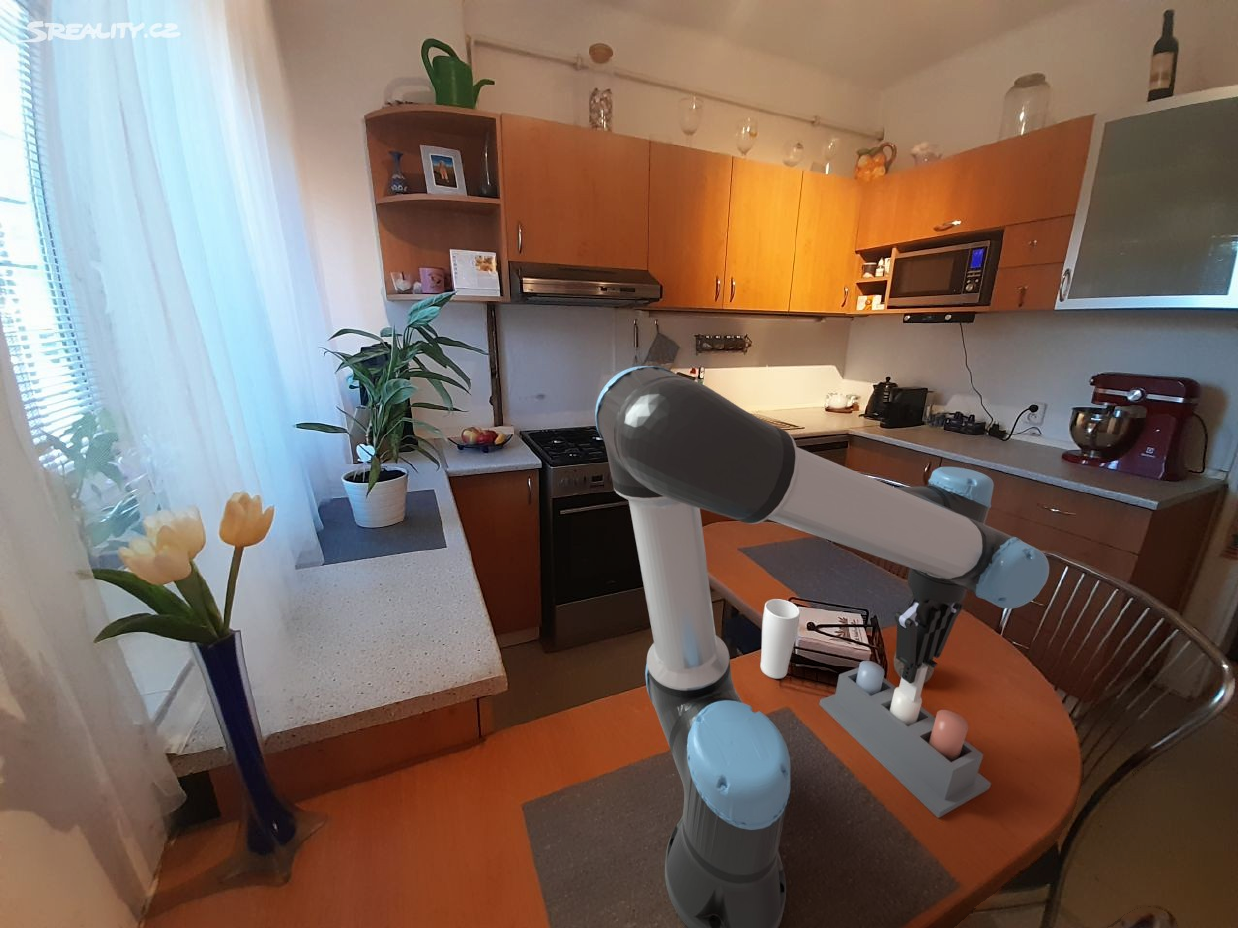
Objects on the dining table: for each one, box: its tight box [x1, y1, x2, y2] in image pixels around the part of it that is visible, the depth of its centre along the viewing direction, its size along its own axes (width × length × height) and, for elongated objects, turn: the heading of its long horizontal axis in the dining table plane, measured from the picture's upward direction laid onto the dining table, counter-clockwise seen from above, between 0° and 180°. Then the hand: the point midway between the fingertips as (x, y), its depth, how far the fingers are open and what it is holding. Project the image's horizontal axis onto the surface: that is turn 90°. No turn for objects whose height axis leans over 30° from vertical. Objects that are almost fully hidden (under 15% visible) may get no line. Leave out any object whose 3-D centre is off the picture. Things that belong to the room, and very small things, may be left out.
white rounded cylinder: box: [890, 686, 923, 726], centre depth 81 cm, size 4×4×7 cm
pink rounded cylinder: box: [929, 709, 969, 762], centre depth 74 cm, size 4×4×7 cm
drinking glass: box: [759, 598, 801, 680], centre depth 96 cm, size 7×7×15 cm
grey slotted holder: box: [819, 667, 992, 819], centre depth 82 cm, size 12×23×7 cm, turn 23°
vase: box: [893, 652, 935, 684], centre depth 96 cm, size 7×7×9 cm
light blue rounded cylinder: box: [856, 660, 885, 696], centre depth 87 cm, size 4×4×7 cm
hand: (908, 694), depth 79 cm, fingers closed
